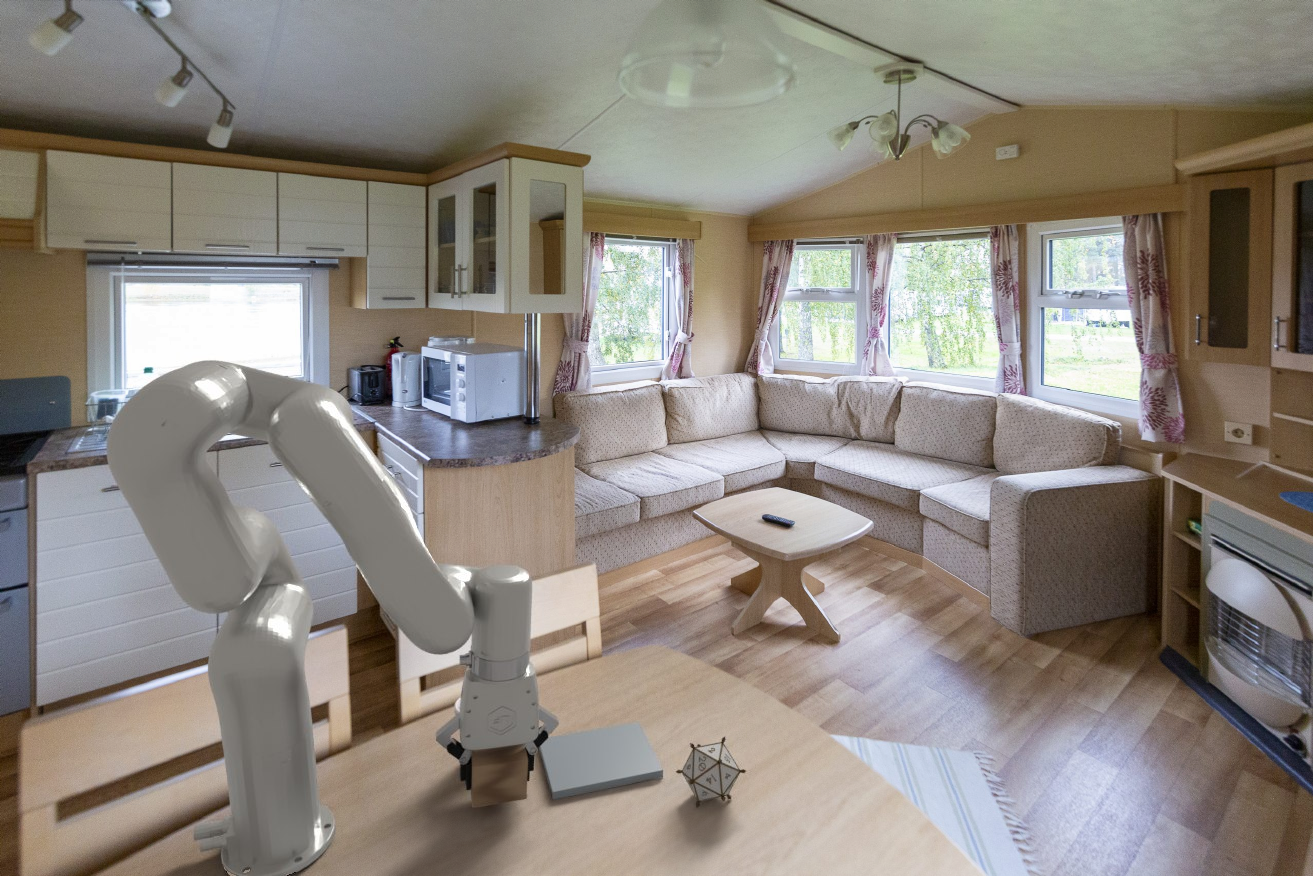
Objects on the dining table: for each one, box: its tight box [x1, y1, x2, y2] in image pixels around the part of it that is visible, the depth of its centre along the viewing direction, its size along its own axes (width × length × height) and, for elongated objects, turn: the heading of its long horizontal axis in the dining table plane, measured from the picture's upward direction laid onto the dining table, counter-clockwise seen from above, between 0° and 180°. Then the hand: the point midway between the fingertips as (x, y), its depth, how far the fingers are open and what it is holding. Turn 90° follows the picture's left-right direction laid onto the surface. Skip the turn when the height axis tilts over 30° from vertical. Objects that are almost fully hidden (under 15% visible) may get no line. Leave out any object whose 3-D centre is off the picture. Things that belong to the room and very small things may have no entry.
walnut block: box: [469, 744, 528, 809], centre depth 97 cm, size 7×7×6 cm
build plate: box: [538, 721, 664, 800], centre depth 107 cm, size 16×12×1 cm
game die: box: [675, 736, 747, 808], centre depth 100 cm, size 9×8×10 cm
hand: (497, 778), depth 98 cm, fingers closed on walnut block, 7 cm apart
